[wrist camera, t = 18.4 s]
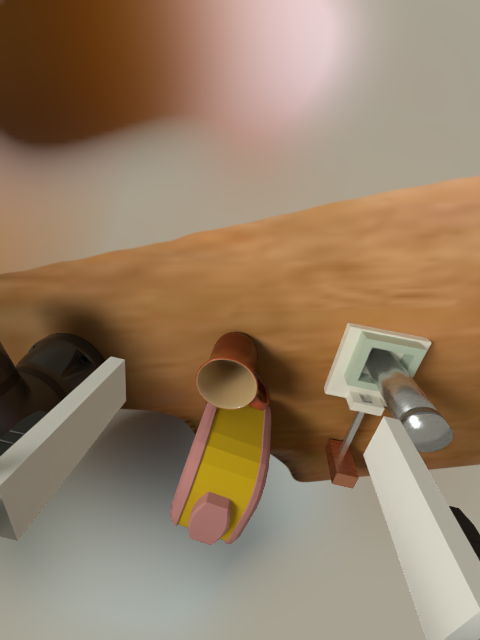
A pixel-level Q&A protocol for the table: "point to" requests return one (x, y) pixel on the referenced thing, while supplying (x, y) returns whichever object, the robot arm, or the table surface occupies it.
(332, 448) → the pin
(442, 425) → the silver metal cylinder
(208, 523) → the alarm clock
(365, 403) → the dock
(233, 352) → the mug
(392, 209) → the table surface
